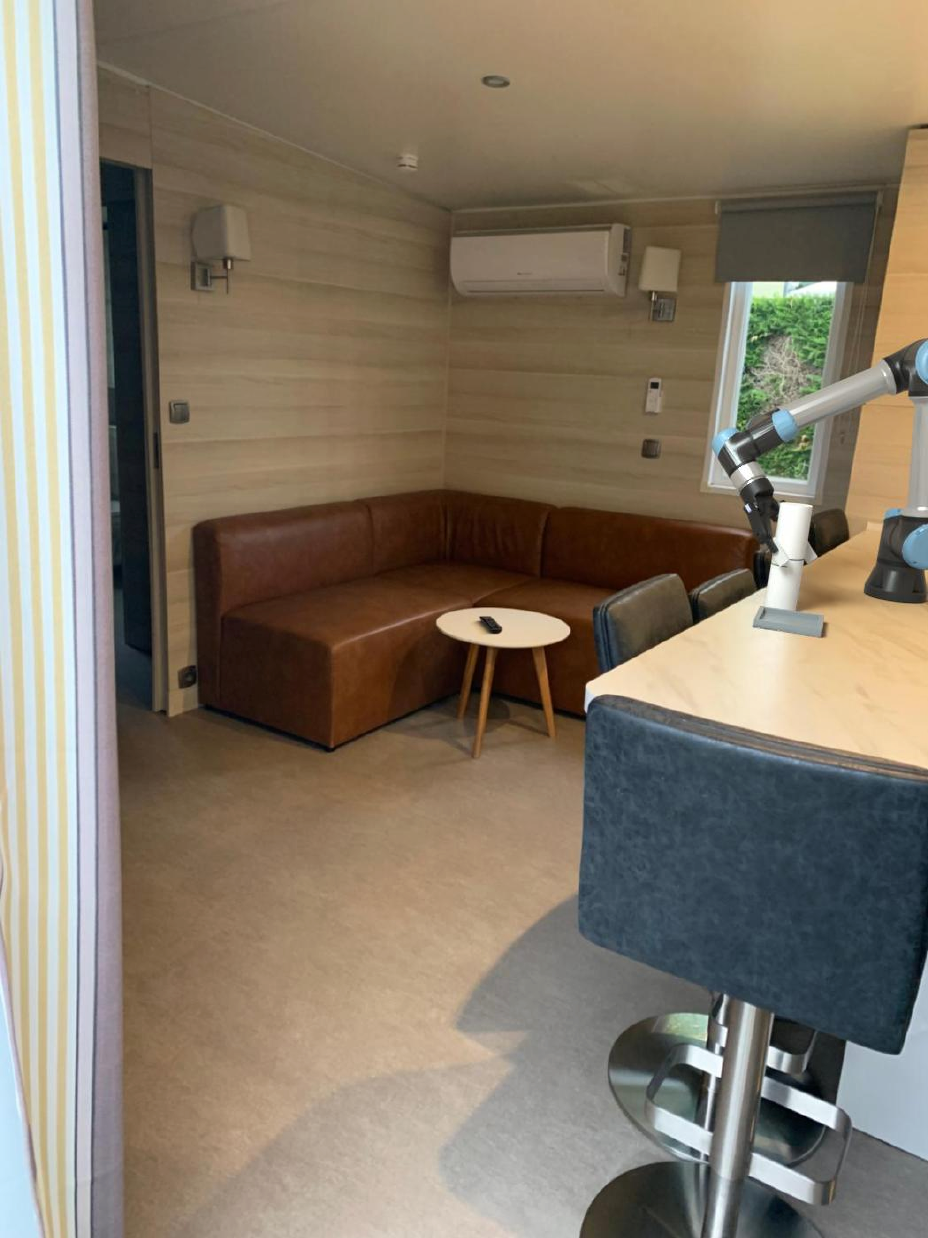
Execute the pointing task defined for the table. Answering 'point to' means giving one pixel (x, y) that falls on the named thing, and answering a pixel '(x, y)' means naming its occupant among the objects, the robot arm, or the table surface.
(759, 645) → the table surface
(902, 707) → the table surface
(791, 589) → the cylindrical container
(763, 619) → the tray
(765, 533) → the robot arm
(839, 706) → the table surface
